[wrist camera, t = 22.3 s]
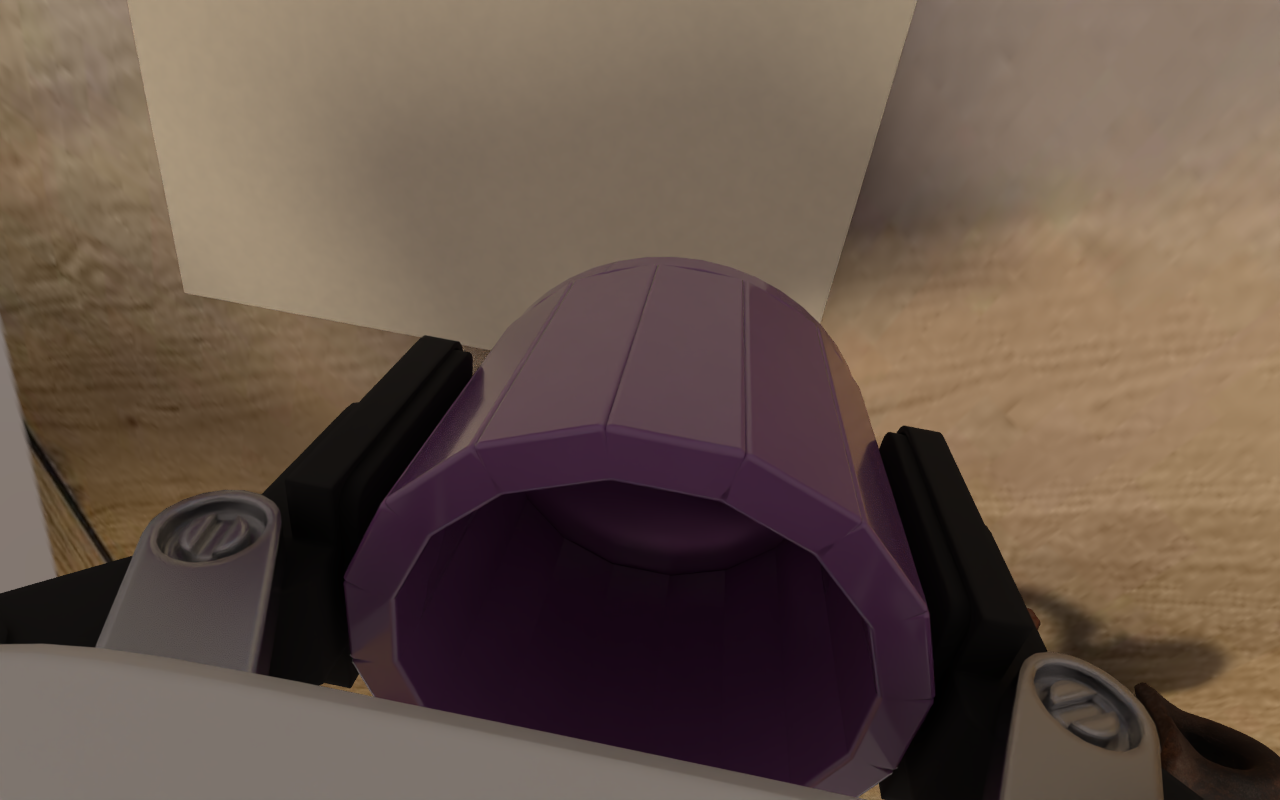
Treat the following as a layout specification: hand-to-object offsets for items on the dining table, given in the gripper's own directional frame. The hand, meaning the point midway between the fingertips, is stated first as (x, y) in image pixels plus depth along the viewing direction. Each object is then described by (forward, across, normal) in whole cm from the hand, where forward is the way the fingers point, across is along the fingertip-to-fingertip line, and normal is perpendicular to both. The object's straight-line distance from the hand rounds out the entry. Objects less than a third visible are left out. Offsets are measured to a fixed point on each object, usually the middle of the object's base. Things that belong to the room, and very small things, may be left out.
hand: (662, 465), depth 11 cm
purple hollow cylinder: (+1, 0, 0) cm, 1 cm away
